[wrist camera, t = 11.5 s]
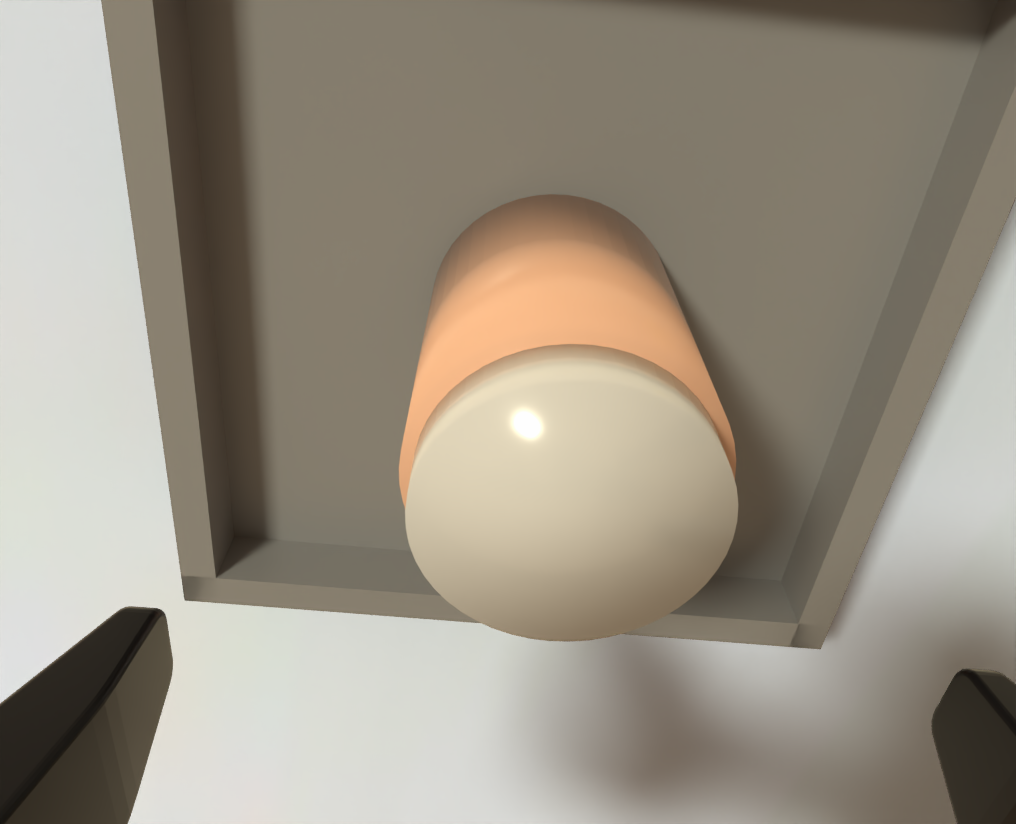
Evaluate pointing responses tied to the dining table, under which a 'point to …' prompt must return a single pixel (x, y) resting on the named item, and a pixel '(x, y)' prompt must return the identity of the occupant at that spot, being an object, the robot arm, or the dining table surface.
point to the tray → (540, 171)
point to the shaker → (563, 429)
